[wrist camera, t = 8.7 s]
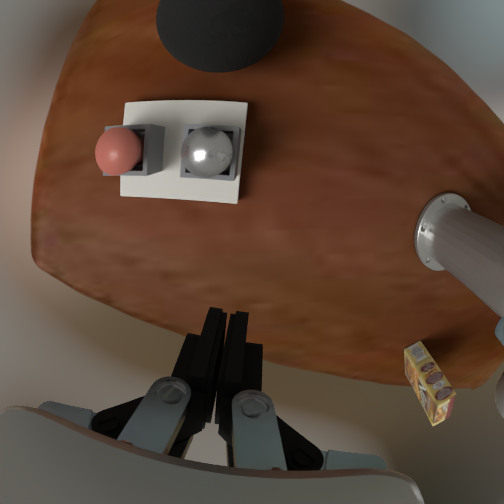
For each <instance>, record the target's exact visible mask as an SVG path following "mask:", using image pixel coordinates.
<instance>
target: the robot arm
mask: <svg viewBox="0 0 504 504" xmlns="http://www.w3.org/2000/svg"><path fill="white" fill-rule="evenodd" d="M415 249H416V252H417V255H418V257H419V259H420V261H421V262H422V263H423V264H424V265H425V266H427V267H428V268H429V269H432V270H436V271H441V270H445V269H446V270H447V271H448V272H450V273H451V274H452V275H453V276H454V277H456V278H457V279H458V280H459V281H460V282H462V283H463V284H464V285H465V286H466V287H467V288H469V289H470V290H471V291H472V292H473V293H474V294H475V295H477V296H478V297H479V298H480V299H481V300H482V301H483V302H484V303H485V304H487V305H488V306H489V307H490V308H491V309H492V310H493V311H494V312H495V313H496V314H498V315H499V316H501V317H503V318H504V226H502V225H500V224H498V223H496V222H494V221H491V220H489V219H487V218H485V217H483V216H481V215H479V214H476V213H474V212H472V211H471V209H470V207H469V205H468V203H467V202H466V200H465V199H463V198H462V197H461V196H459V195H457V194H454V193H442V194H439V195H437V196H435V197H434V198H433V199H432V200H430V201H429V203H428V204H427V205H426V206H425V208H424V209H423V211H422V213H421V215H420V217H419V219H418V222H417V226H416V230H415ZM248 315H249V313H248V312H240V311H236V314H231V315H230V320H229V325H228V330H227V335H226V340H225V345H224V339H225V329H226V319H227V313H224V312H223V309H220V308H213V307H210V308H209V311H208V314H207V317H206V320H205V323H204V326H203V330H202V333H201V335H195V334H190V333H188V334H187V336H186V338H185V341H184V343H183V346H182V349H181V351H180V354H179V357H178V359H177V362H176V364H175V367H174V370H173V373H172V375H171V377H163V378H160V379H158V380H156V381H155V382H154V383H153V384H152V386H151V387H150V389H149V390H148V392H147V393H146V395H145V396H143V397H140V398H137V399H135V400H132V401H129V402H126V403H124V404H120V405H117V406H114V407H111V408H108V409H105V410H103V411H100V412H98V413H95V412H93V411H92V410H90V409H85V408H80V407H75V406H70V405H66V404H61V403H57V402H53V401H47V402H44V403H42V404H41V405H40V406H39V407H38V408H33V407H29V406H9V407H7V408H5V409H3V410H2V411H1V412H0V504H424V501H423V498H422V495H421V493H420V491H419V489H418V487H417V485H416V484H415V482H414V481H413V480H412V479H411V478H410V477H408V476H406V475H404V474H401V473H398V472H395V471H390V470H387V466H386V463H385V461H384V460H383V459H382V458H381V457H379V456H377V455H372V454H359V453H350V452H341V451H334V450H328V452H326V451H320V450H319V449H318V448H317V447H316V446H315V445H314V444H312V443H311V442H310V441H308V440H307V439H306V438H304V437H303V436H302V435H300V434H299V433H298V432H297V431H295V430H294V429H293V428H291V427H290V426H289V425H288V424H286V423H285V422H284V421H283V420H282V419H280V418H279V417H278V416H276V413H275V408H274V404H273V401H272V399H271V398H270V397H269V396H268V395H266V394H265V393H263V392H261V388H262V355H263V345H262V344H255V343H247V342H246V334H247V324H248ZM216 392H217V396H216ZM215 397H217V398H216V411H215V424H219V431H218V434H219V435H220V436H221V437H222V438H223V439H224V440H225V441H226V452H227V453H226V454H227V466H220V465H213V464H206V463H201V462H195V461H191V460H185V459H184V458H185V455H186V453H187V451H188V449H189V446H190V444H191V442H192V439H193V435H194V434H196V433H198V432H200V431H202V429H204V427H205V423H206V422H207V423H210V422H211V418H212V413H213V407H214V402H215ZM495 401H496V405H497V408H498V410H499V412H500V414H501V415H502V417H503V418H504V372H503V374H502V376H501V377H500V379H499V381H498V384H497V387H496V391H495Z"/></svg>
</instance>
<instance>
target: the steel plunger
mask: <svg viewBox="0 0 504 504" xmlns="http://www.w3.org/2000/svg"><path fill="white" fill-rule="evenodd" d="M232 157H233V145H232V142H231V140H230V138H229V137H228V136H227V135H226V134H225V133H224V132H223V131H221V130H219V129H217V128H214V127H201V128H198V129H195V130H194V131H192V132H191V133H190V134H189V135H188V136H187V137H186V138H185V140H184V141H183V144H182V147H181V158H182V162H183V164H184V166H185V167H186V169H187V170H188V171H189V172H191V173H192V174H194V175H196V176H198V177H203V178H209V177H214V176H216V175H218V174H220V173H222V172H223V171H224V170H225V169H226V168H227V167H228V166H229V164H230V163H231V160H232Z"/></svg>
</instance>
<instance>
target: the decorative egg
mask: <svg viewBox="0 0 504 504" xmlns="http://www.w3.org/2000/svg"><path fill="white" fill-rule="evenodd" d="M283 24H284V9H283V4H282V1H281V0H160V3H159V5H158V9H157V15H156V25H157V30H158V34H159V37H160V39H161V41H162V43H163V45H164V46H165V48H166V49H167V50H168V51H169V52H170V53H171V54H172V55H173V56H174V57H175V58H176V59H177V60H179V61H180V62H182V63H184V64H185V65H187V66H189V67H192V68H195V69H198V70H201V71H206V72H230V71H235V70H239V69H242V68H245V67H247V66H250V65H252V64H254V63H256V62H257V61H259V60H260V59H262V58H263V57H264V56H265V55H266V54H268V52H269V51H270V50H271V49H272V48H273V47H274V45H275V44H276V43H277V41H278V39H279V37H280V35H281V32H282V29H283Z"/></svg>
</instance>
